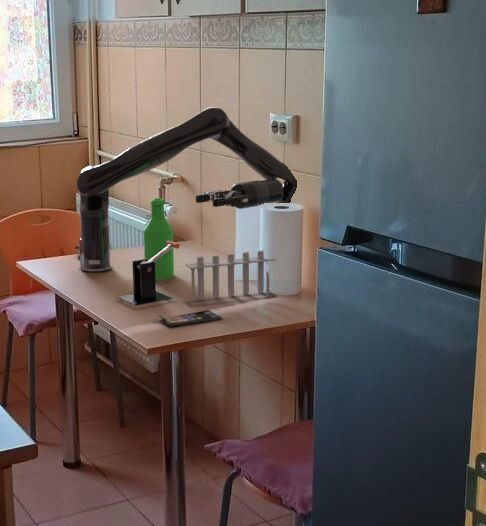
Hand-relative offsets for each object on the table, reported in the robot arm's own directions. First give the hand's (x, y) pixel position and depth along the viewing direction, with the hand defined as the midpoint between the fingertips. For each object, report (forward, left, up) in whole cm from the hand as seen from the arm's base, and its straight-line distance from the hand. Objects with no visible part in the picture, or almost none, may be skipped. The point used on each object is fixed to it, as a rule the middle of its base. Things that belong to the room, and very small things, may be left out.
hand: (204, 201), depth 265 cm
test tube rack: (+12, -3, -26) cm, 29 cm away
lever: (-3, -16, -15) cm, 22 cm away
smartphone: (+17, -24, -26) cm, 39 cm away
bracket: (-4, -21, -26) cm, 33 cm away
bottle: (-19, -2, -26) cm, 32 cm away
